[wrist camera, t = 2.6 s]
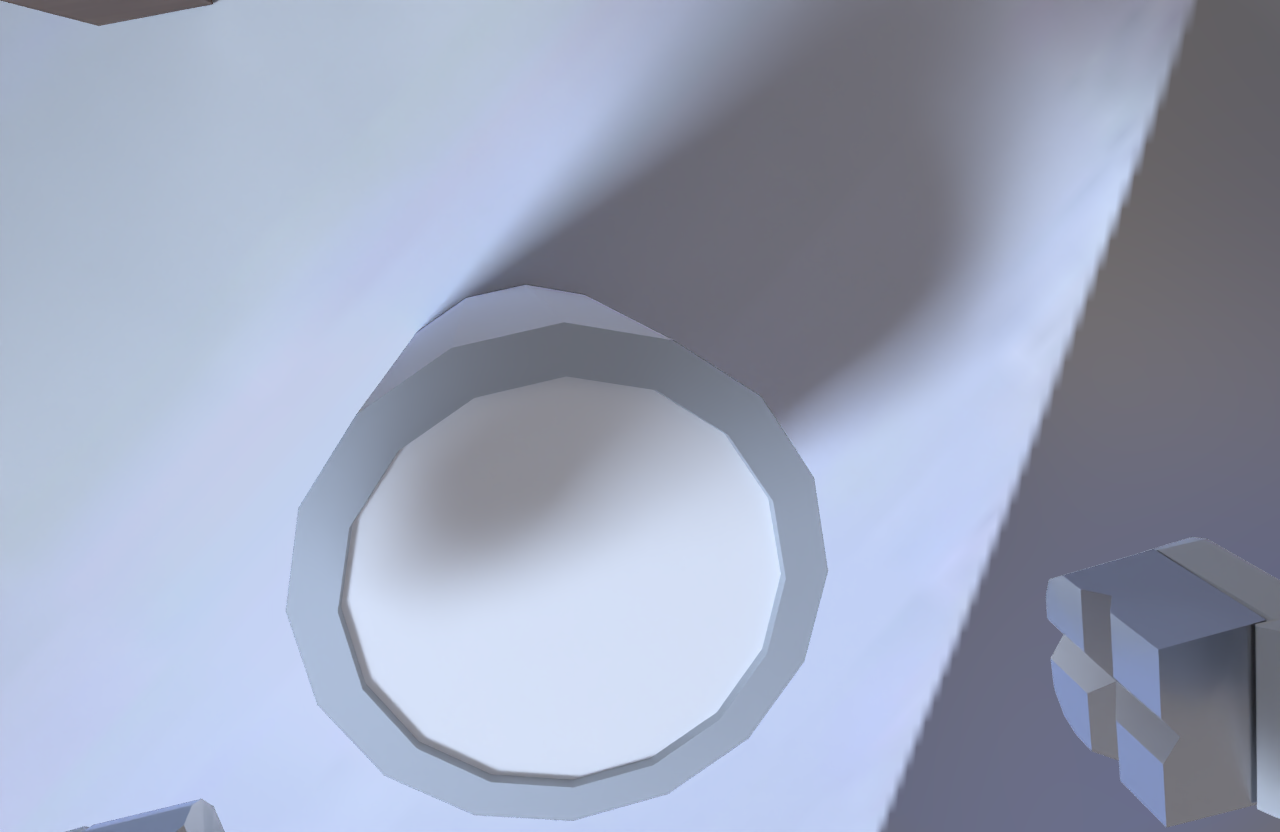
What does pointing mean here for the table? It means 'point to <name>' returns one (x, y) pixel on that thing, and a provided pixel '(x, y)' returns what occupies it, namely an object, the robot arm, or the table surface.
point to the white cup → (554, 562)
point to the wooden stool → (108, 8)
